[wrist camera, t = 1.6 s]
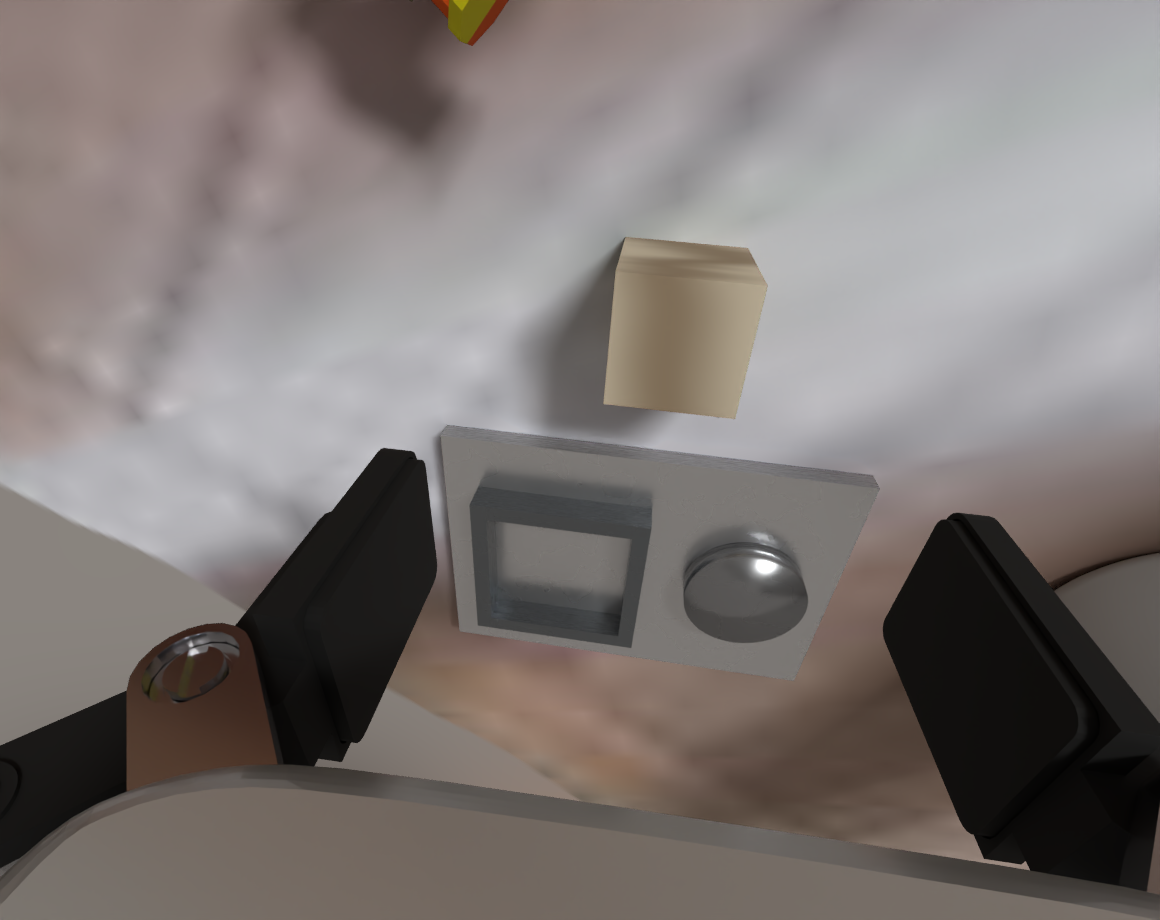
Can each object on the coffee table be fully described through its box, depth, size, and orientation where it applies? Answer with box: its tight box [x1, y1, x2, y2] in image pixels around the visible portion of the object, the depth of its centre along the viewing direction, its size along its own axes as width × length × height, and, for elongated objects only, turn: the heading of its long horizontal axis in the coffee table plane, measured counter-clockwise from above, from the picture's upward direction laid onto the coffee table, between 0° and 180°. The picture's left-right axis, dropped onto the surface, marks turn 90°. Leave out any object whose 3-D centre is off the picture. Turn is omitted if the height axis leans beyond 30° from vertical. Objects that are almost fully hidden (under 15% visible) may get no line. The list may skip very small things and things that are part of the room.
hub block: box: [603, 237, 768, 419], centre depth 20 cm, size 5×5×5 cm
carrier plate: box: [441, 425, 880, 681], centre depth 29 cm, size 20×14×2 cm
